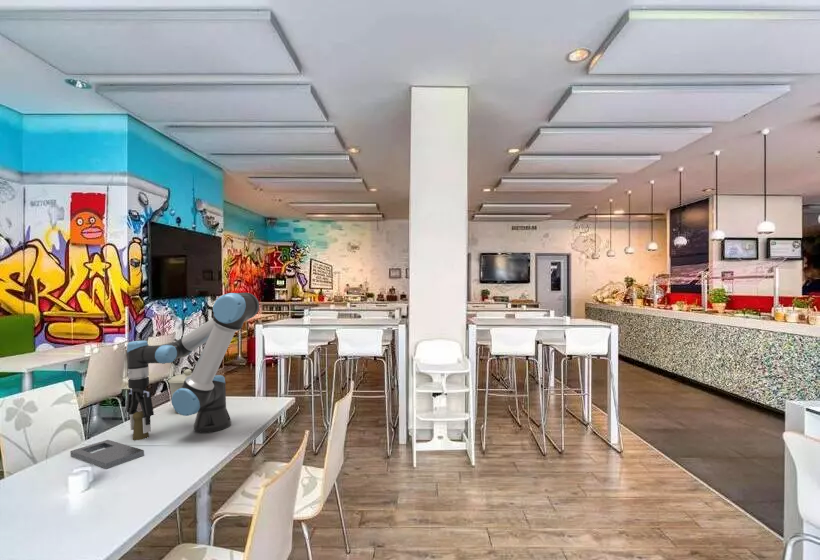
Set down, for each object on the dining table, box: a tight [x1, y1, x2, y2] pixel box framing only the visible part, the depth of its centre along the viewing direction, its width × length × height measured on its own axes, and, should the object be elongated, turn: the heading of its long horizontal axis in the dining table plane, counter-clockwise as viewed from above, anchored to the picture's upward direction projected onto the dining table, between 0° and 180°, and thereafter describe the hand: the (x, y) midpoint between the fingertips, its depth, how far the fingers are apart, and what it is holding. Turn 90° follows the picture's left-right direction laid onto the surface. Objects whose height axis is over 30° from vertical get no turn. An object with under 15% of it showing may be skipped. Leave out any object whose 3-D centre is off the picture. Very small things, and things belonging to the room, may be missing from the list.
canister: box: [167, 368, 193, 397], centre depth 223 cm, size 18×18×21 cm
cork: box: [132, 410, 150, 441], centre depth 185 cm, size 6×6×11 cm
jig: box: [70, 439, 145, 470], centre depth 165 cm, size 26×13×2 cm, turn 60°
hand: (140, 430), depth 185 cm, fingers open, 9 cm apart
